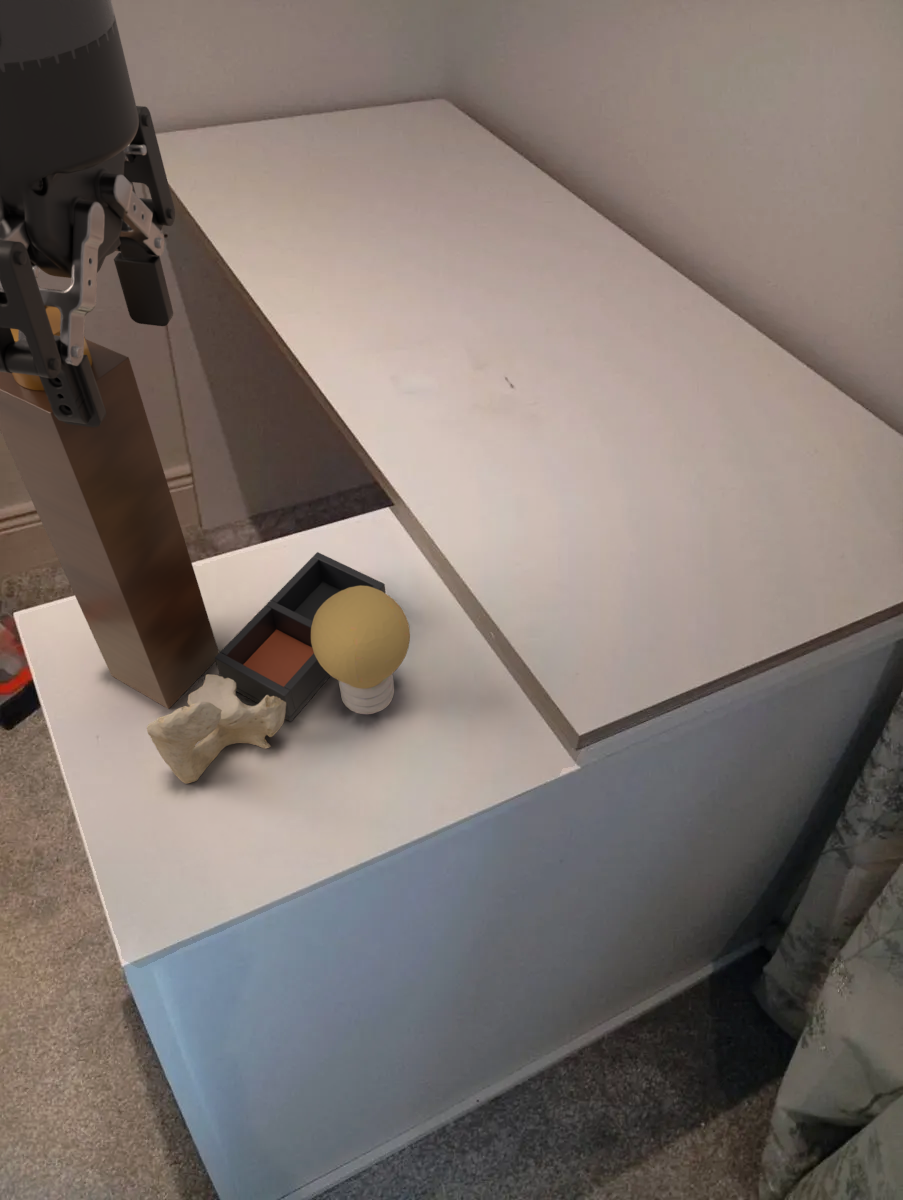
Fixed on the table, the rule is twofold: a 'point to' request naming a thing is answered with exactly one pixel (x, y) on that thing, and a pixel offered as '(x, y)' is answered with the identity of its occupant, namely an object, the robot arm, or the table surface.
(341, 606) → the light bulb
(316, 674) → the dark grey open box
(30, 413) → the block
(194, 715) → the bone
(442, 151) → the table surface
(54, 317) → the cylinder
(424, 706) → the table surface
